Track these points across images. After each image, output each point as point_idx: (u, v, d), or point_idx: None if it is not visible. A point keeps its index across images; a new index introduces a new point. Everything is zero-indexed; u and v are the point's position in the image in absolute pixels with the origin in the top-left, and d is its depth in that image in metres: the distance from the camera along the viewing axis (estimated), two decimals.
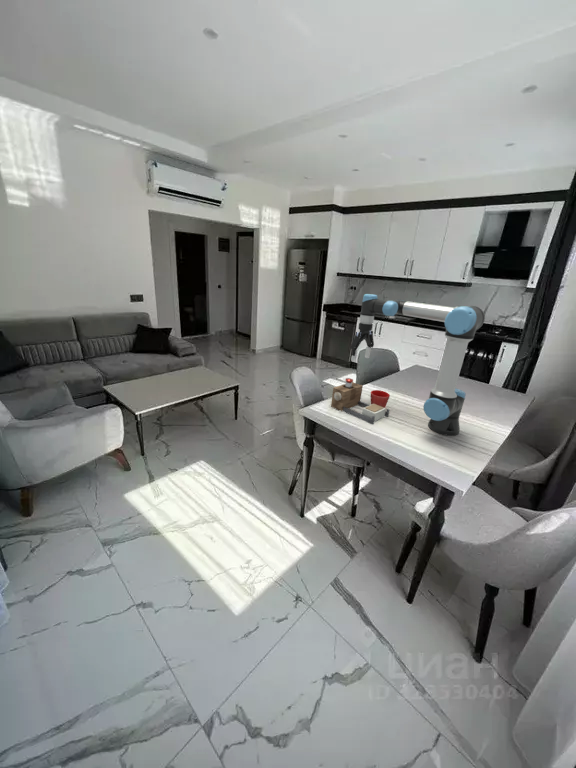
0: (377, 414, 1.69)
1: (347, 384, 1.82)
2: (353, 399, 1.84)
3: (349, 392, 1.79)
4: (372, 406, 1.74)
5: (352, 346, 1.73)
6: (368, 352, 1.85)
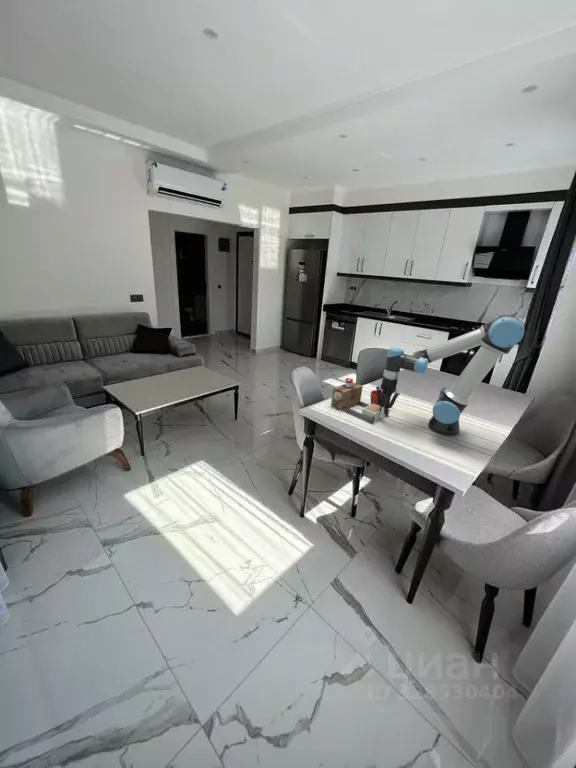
0: (377, 414, 1.69)
1: (347, 384, 1.82)
2: (353, 399, 1.84)
3: (349, 392, 1.79)
4: (372, 406, 1.74)
5: None
6: None
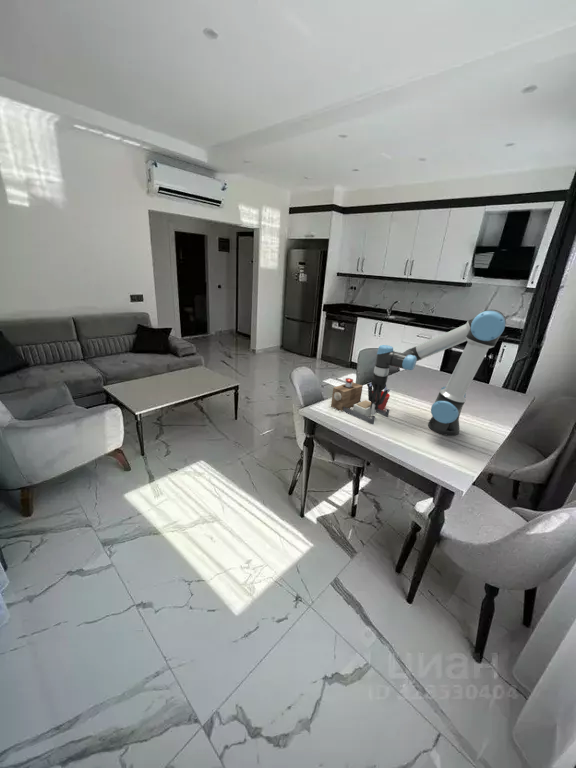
0: (368, 410, 1.73)
1: (347, 384, 1.82)
2: (353, 399, 1.84)
3: (349, 392, 1.79)
4: (363, 402, 1.78)
5: None
6: None
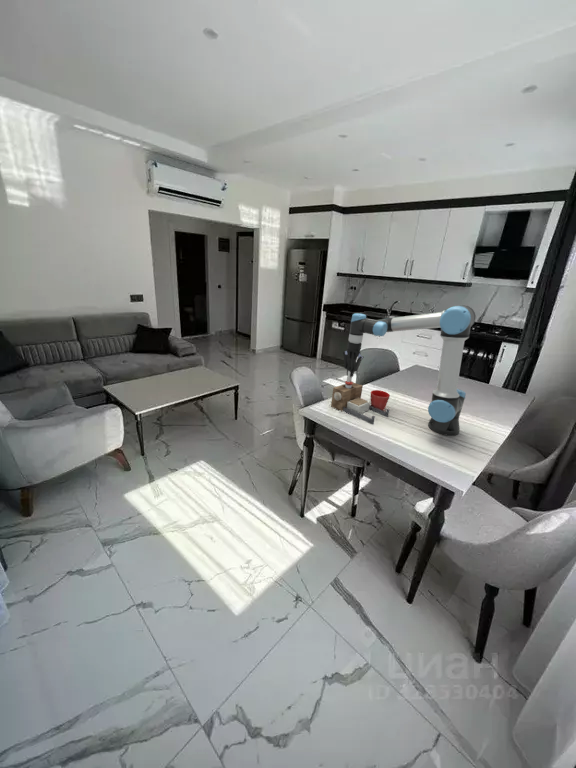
0: (361, 407, 1.76)
1: (347, 386, 1.82)
2: (353, 399, 1.84)
3: (349, 392, 1.79)
4: (357, 400, 1.81)
5: None
6: None
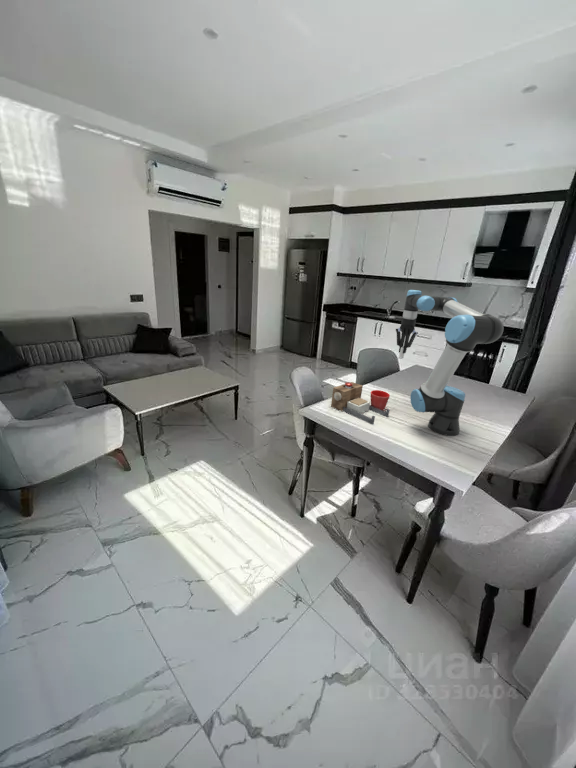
0: (361, 407, 1.76)
1: None
2: (353, 399, 1.84)
3: (349, 392, 1.79)
4: (357, 400, 1.81)
5: None
6: None
